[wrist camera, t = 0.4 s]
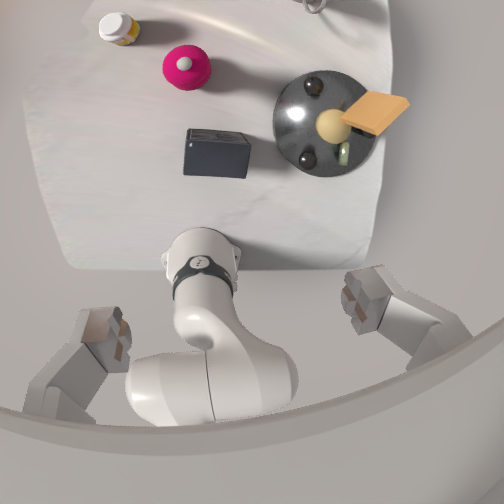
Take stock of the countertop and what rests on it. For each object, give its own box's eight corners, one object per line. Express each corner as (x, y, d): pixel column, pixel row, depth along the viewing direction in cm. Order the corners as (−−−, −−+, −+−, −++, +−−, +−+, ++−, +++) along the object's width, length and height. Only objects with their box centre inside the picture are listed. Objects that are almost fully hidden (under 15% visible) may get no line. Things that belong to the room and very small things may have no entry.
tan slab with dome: (329, 148, 51) (363, 169, 41) (308, 124, 48) (340, 138, 37) (375, 105, 47) (416, 117, 36) (356, 80, 43) (398, 85, 32)
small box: (184, 160, 50) (181, 177, 42) (187, 128, 47) (184, 137, 38) (237, 163, 53) (246, 181, 44) (242, 132, 49) (252, 143, 41)
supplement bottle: (132, 15, 31) (117, 2, 23) (146, 33, 34) (134, 22, 26) (107, 33, 32) (88, 24, 24) (121, 52, 35) (104, 45, 27)
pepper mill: (218, 74, 42) (228, 67, 26) (186, 97, 43) (177, 104, 27) (194, 47, 38) (191, 24, 22) (162, 70, 39) (140, 62, 23)
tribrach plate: (364, 175, 59) (373, 181, 56) (270, 174, 55) (275, 180, 52) (376, 81, 46) (387, 82, 42) (274, 64, 42) (280, 63, 39)
